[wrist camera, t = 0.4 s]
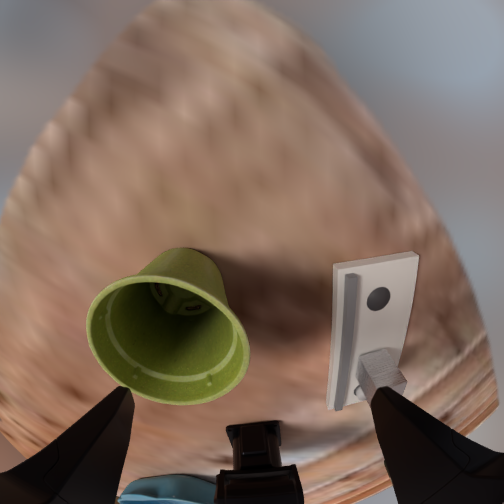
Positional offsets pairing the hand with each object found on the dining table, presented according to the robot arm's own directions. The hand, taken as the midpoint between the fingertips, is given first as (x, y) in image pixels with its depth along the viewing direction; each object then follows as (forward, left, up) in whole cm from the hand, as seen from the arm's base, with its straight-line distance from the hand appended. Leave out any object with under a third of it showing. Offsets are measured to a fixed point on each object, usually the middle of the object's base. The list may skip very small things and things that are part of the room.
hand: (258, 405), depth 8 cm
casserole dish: (-52, +16, -14) cm, 57 cm away
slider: (-13, -11, -12) cm, 21 cm away
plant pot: (-2, +5, -14) cm, 15 cm away
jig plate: (-11, -11, -14) cm, 21 cm away
